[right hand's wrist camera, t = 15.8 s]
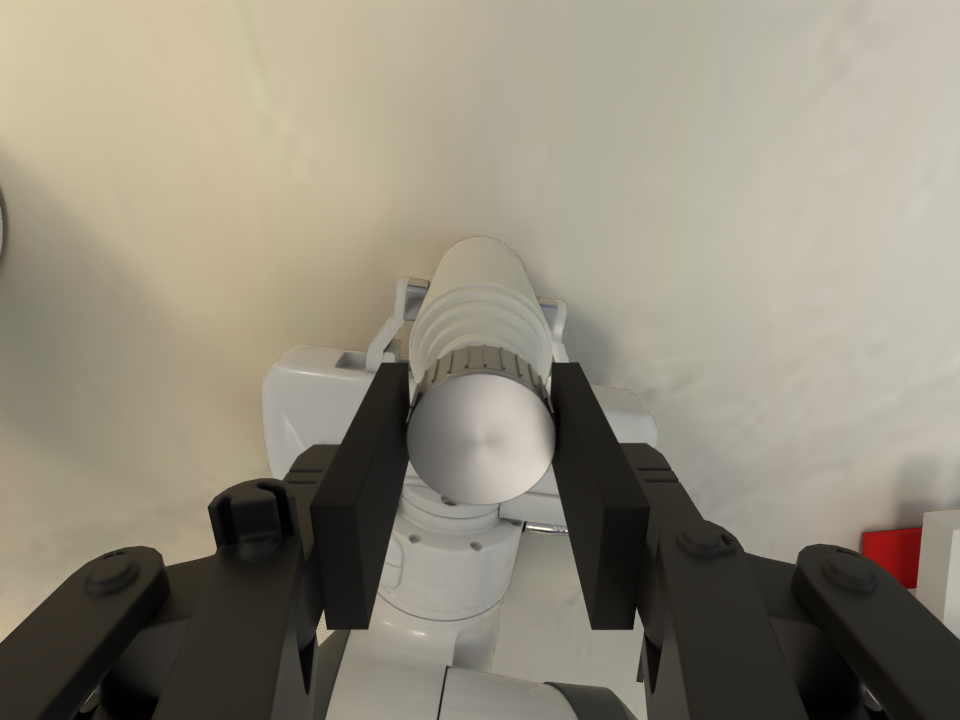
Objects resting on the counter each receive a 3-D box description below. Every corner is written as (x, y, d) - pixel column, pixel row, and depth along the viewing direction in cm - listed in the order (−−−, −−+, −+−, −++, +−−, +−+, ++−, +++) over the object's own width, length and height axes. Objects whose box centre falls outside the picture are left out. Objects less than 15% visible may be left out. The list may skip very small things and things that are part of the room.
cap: (422, 332, 14) (413, 358, 12) (563, 355, 14) (575, 384, 12) (405, 454, 15) (394, 495, 13) (533, 473, 16) (540, 516, 14)
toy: (1214, 564, 26) (1114, 973, 33) (973, 457, 39) (937, 765, 46) (969, 583, 27) (920, 981, 33) (812, 471, 40) (799, 774, 46)
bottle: (543, 278, 31) (627, 426, 13) (483, 341, 32) (487, 549, 15) (477, 216, 29) (473, 289, 12) (417, 284, 31) (336, 438, 13)
